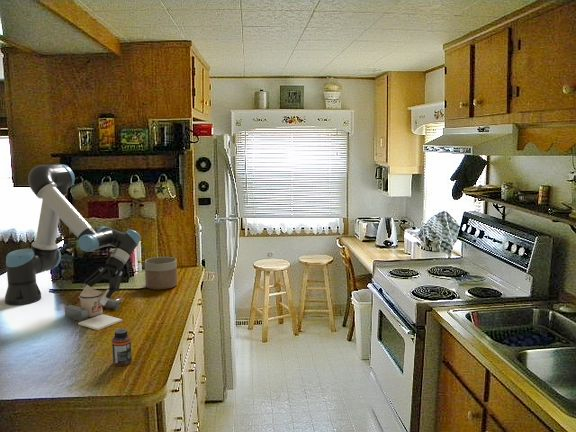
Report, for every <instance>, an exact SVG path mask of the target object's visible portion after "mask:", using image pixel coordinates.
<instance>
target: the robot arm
mask: <svg viewBox="0 0 576 432" xmlns="http://www.w3.org/2000/svg"><path fill="white" fill-rule="evenodd" d="M75 179H76V177H75V173H74V172H73V170H72V169H71V167H69V165H67V164H61V163H53V164H39V165H36V166H34V167H33V168H32V169H31V170H30V171H29V173H28V178H27V181H28V186H29V187H30V189H31V191H32V192H33V193H34V195H35V196H36V197H37V198H38V199H42V201H41V207H40V212H39V213H40V214H39V220H38V227H37V233H36V238H35V241H33V242H32V243H31V245H30V246H31V247H30V248H21V249H16V250H12V251H10V252H8V253H7V255H6V256H5V265H6V267H5V269H6V276H7V277H6V278H7V289H6V292H5V296H4V303H5V304H6V305H11V306H12V305H13V306H19V305H28V304H32V303H36V302H38V301H40V300H41V299H42V292H41V290H40V288H39V285H38V283H37V278H36V277H37V274H41V273H44V272H49V271H51V270H52V269H55V268H56V267H58V266H59V264H60V263H61V259H62V254H61V252H60V249H59V246H58V244H57V243H56V239H57V234H58V227H59V221H60V220H61V221H62V222H63V223H64V225H65V226H66V227H67V228H68V229H69V230H70V231H71V232H72V234H73V235H74V236H75V237H77V239H78V240H77V241H78V242H77V245H78V247H79V249H80V250H81V251H83V252H85V253H86V252H93V251H96V250H99V249H101V248H105V247H108V246H111V247H113V248H114V250H113V251H112V252H111V254H110V256H109V257H108V259H107V260H106V262H105V266H104V267H103V266H101V265H100V266H99V267H98V268H97V269H96V270H95V271H94V272H93V273H92V274H91V275H90V276H89V277H87V278H86V279H85V280H84V281H83V282H84V283H85V286H84V288H83V289H82V291H81V293H82V292H85V291H86V290H88V288H89V287H93V286H94V285H96V284H98V283H99V282H101V281H102V280H108V285H109V286H108V288H107V289H106V291H105V292H104V294H102V296H103V297H102V299H101V300H100V302H99V303H101V304H102V305H103V306H104V305H105V304H106V302H107V301H108V299H111V297H112V296H113V294H114V293H115V292H119V291H120V285H121V282H122V277H123V275H124V272H123V271H122V270H123V269H124V267H125V265H126V264H127V262H128V260H129V259H130V258H131V255H132V254H133V252H134V251H135V249H136V248H137V246H138V245H139V243H140V241H141V239H142V237H141V235H140V234H139V232H137V231H136V230H133V229H127V230H126V231H125V232H123V231H119V230H116V229H114V228H111V227H110V226H104V225H102V226H100V227H99V228H97V229H96V230H95V229H94V228H93V227H92V226H91V224H90V223H88V221H87V220H86V219H85V218H84V217H83V216H82V214H81V213H80V212H79V211H78V210H77V209H76V208H75V207H74V205H72V204H71V202H69V200H68V199H67V198H66V196H67V195H68V190H69V188H71V187H72V186H73V185H74V184H75ZM78 298H79V299H80V295H79V296H78Z"/></svg>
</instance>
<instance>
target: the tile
mask: <svg viewBox="0 0 576 432" xmlns="http://www.w3.org/2000/svg"><path fill="white" fill-rule="evenodd" d="M122 321H123V319H122V318H118V317H114V316H111V315H108V314H103V313H101V314H100V315H97V316H92V317H90V318H88V319H87V320H84V321H82V322H81V321H78V323H77V325H79V326H82V327H86V328H89V329H92V330H95V331H101V330H103V329H105V328H108V327H111V326H112V325H115V324H118V323H121V322H122Z"/></svg>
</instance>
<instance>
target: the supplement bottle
mask: <svg viewBox="0 0 576 432" xmlns="http://www.w3.org/2000/svg"><path fill="white" fill-rule="evenodd" d="M131 339H132V338H131V336H130V335H129V334H128V329H126V328H119V329H118V328H117V329H115V330H114V336H113V337H112V339H111V343H112V344H111V347H112V348H111V349H112V361H113V365H115V366H116V367H117V366H118V367H125V366H127V365H130V363H132V359H133V358H132V342H131V341H132V340H131Z"/></svg>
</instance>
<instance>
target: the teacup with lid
mask: <svg viewBox="0 0 576 432" xmlns="http://www.w3.org/2000/svg"><path fill="white" fill-rule="evenodd" d="M79 296H80V298H79V299H80V307H81V308H84V309H88V318H89V317H90V318H93V317H96V316H99V315H102V314H103V307H102V304H101V303H99V302H100V300H101V299H102V297H103V292H102V291H101V290H100V289H99V290H98V289H96V288H95V289H94V287H93V286H92V287H89V288H88V290H86V291H85V292H82V291H81V292H80V293H79Z"/></svg>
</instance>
